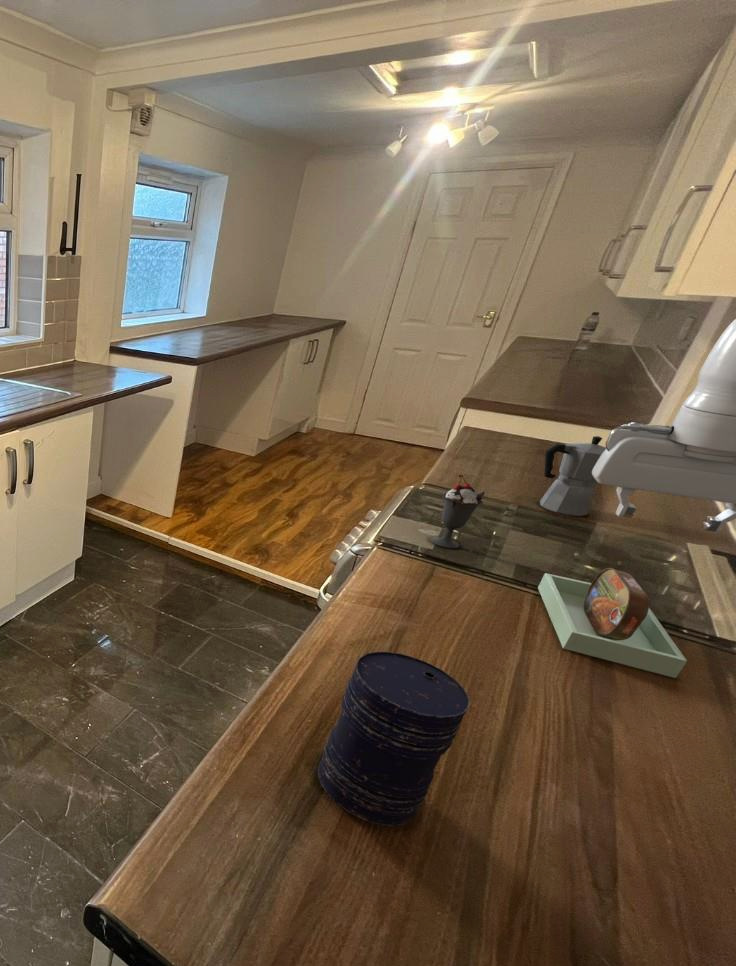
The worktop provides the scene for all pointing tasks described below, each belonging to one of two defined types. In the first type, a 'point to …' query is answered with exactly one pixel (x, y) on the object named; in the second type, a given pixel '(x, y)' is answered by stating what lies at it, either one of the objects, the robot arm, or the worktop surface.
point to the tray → (577, 634)
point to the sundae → (457, 511)
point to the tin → (615, 604)
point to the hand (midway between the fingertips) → (665, 522)
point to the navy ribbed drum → (390, 736)
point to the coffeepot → (572, 477)
